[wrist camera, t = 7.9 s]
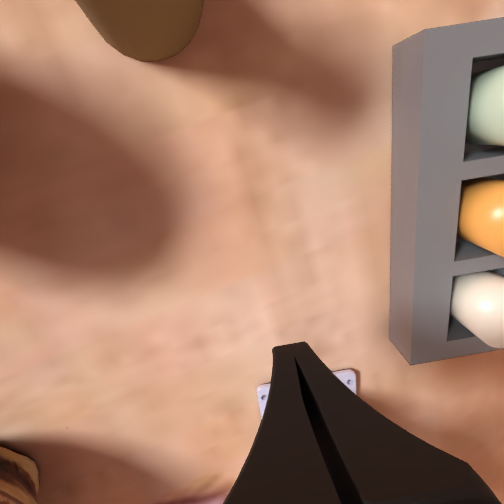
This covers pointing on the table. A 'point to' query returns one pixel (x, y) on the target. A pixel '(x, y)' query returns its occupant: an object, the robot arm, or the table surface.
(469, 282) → the cream egg
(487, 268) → the grey compartment tray
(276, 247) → the table surface
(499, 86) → the pale green rounded blob
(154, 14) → the cork
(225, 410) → the table surface
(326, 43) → the table surface
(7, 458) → the ceramic jug
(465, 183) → the orange rounded blob
